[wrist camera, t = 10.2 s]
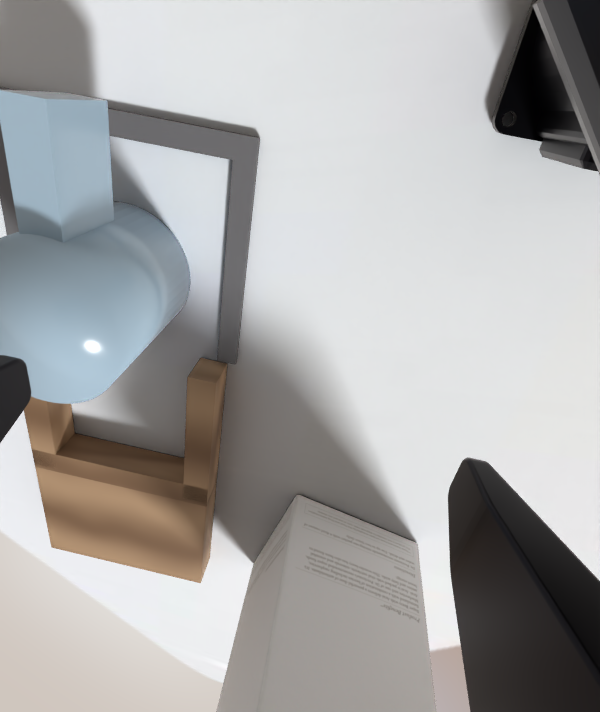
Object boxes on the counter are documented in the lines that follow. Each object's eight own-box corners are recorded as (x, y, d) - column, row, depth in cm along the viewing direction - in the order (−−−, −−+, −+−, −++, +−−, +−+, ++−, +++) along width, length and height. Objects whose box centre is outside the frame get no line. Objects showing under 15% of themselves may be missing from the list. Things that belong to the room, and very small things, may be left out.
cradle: (34, 321, 24) (9, 337, 23) (227, 363, 24) (216, 383, 22) (68, 524, 33) (51, 547, 31) (209, 557, 33) (200, 583, 31)
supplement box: (249, 564, 32) (167, 867, 19) (296, 489, 28) (231, 818, 15) (359, 609, 33) (351, 929, 20) (423, 543, 29) (464, 900, 16)
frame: (-15, 83, 19) (-21, 83, 18) (260, 137, 18) (258, 138, 18) (25, 315, 24) (22, 317, 24) (236, 361, 24) (235, 364, 23)
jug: (188, 338, 23) (125, 418, 17) (72, 314, 24) (-30, 384, 18) (196, 112, 18) (107, 114, 12) (45, 83, 18) (-115, 71, 12)
